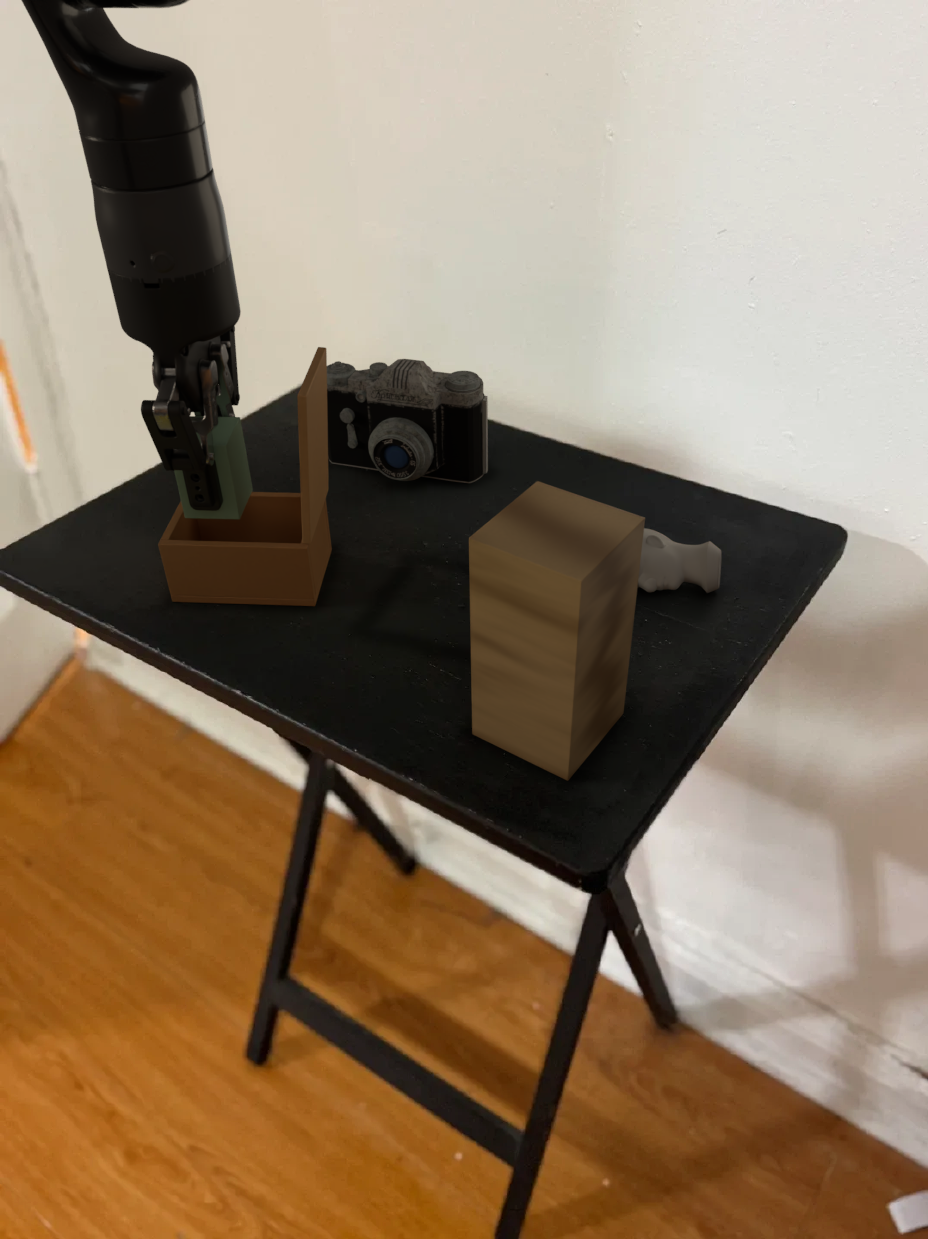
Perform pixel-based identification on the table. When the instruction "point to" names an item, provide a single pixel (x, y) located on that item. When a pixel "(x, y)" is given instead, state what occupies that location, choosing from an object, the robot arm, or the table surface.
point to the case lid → (313, 443)
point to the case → (247, 555)
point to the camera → (408, 421)
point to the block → (224, 472)
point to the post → (552, 624)
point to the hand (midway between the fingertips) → (215, 489)
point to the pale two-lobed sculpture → (677, 564)
